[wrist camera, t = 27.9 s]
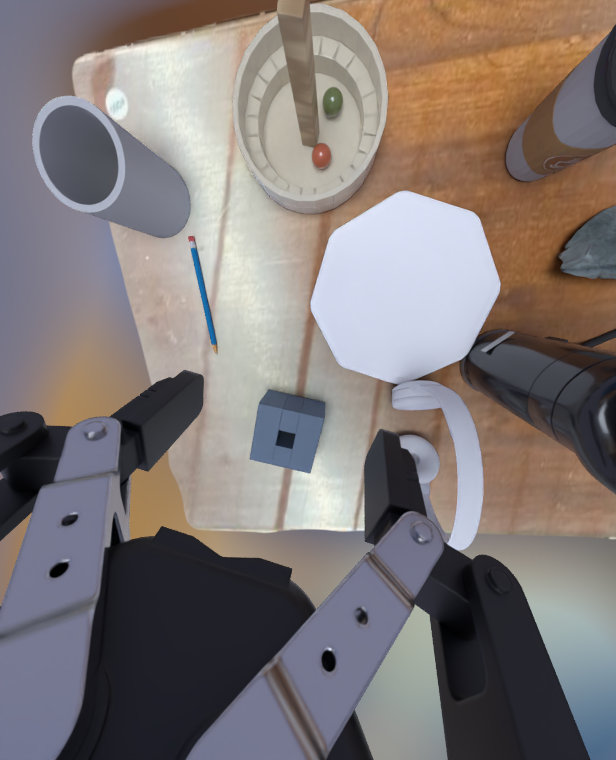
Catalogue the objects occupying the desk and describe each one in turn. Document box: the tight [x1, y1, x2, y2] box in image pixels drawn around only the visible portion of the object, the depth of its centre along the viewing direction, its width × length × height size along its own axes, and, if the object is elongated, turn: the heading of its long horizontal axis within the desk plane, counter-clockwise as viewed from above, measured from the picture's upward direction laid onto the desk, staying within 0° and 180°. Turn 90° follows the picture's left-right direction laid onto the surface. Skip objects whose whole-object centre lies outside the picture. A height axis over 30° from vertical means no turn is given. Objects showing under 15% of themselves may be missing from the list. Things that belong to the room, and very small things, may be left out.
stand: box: [250, 390, 325, 473], centre depth 42 cm, size 10×10×6 cm
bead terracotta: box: [312, 143, 331, 169], centre depth 32 cm, size 2×2×2 cm
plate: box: [310, 191, 501, 385], centre depth 37 cm, size 24×24×2 cm
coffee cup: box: [506, 25, 616, 181], centre depth 24 cm, size 8×8×15 cm
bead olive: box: [322, 87, 343, 117], centre depth 30 cm, size 2×2×2 cm
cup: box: [32, 96, 190, 238], centre depth 31 cm, size 9×9×12 cm
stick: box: [277, 0, 319, 147], centre depth 25 cm, size 2×2×16 cm
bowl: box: [232, 4, 388, 214], centre depth 30 cm, size 16×16×6 cm
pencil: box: [188, 236, 217, 355], centre depth 40 cm, size 1×17×1 cm, turn 6°
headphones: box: [392, 381, 483, 550], centre depth 33 cm, size 7×18×20 cm, turn 3°
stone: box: [558, 206, 616, 279], centre depth 32 cm, size 11×4×10 cm
